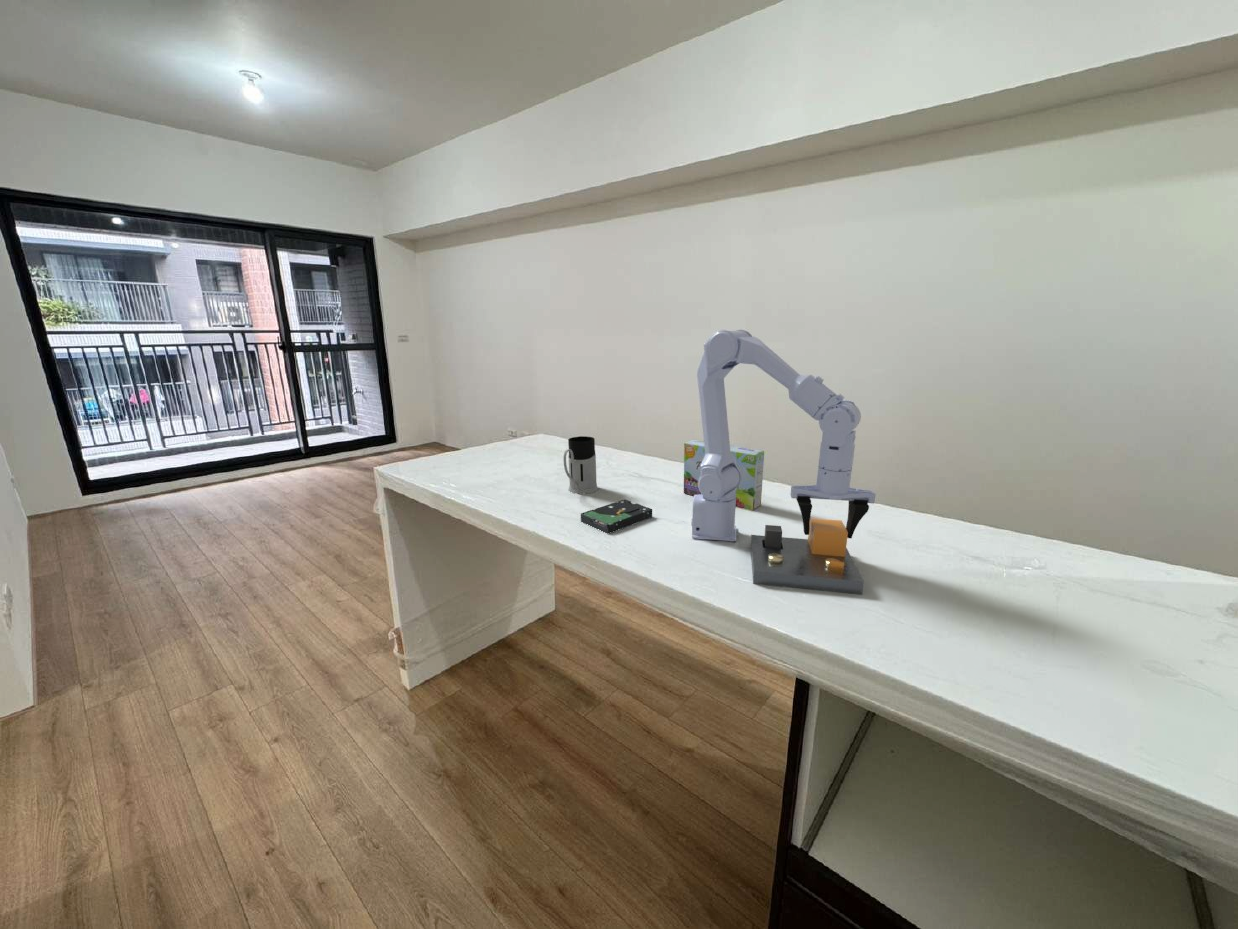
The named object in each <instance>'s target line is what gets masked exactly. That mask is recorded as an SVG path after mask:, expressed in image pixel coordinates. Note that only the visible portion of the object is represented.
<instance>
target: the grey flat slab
mask: <svg viewBox="0 0 1238 929" xmlns="http://www.w3.org/2000/svg"><path fill="white" fill-rule="evenodd" d="M764 537H765V535H759V534H757V535H756V534H751V535H750V556H751V571H752V572H751V573H752V584H756V585H763V586H774V587H783V586H785V587H784V588H795V589H803V590H804V589H805V590H813V591H814V590H815V591H822V592H824V591H826V592H831V593H832V592H834V593H842V594H843V593H845V594H855V595H863V590H864V589H863V588H864V582H865V581H864V579H863V577H862V575H861V574H860V571H859V569H858V567H857V566H856V563H855V561H854V560H853V558H852V555H851V554H850V551H849V550H848V548H847V547H846V553H845V557H842V556H831V555H819V554H812V552H811V549H810V546H809V543H808V538H797V537H783V536H782V542H781V549H772V548H765V546H764Z"/></svg>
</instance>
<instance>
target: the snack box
mask: <svg viewBox="0 0 1238 929" xmlns="http://www.w3.org/2000/svg"><path fill="white" fill-rule="evenodd" d="M683 447H684V449H683V451H684V452H683V457H684V458H683V494H684V493H685V494H684V495H689V496H693V497H694V495H699V494H701V493H700V491H699V488H698V480H699V477H700V466H701V463H702V461H703V459H704V457H705V447H704V440H700V439H699V440H698V439H692V440H689V441H685V442H684V446H683ZM730 451H731V453H732V454H733V455H734V456H735V458H736V464H737V467H738V468H739V470H740V472H741V477H742V478H741V482H740V484H739V486H738V487H736V491H735V492H736V508H740V509H743V508H744V509H745V510H747V511H751V512H753V511H754V510H755V509H757V508H758V507H761V505H762V492H763V476H764V462H765V451H764V450H762V449H761V450H760V449H755V448H750V447H749V448H748V447H743V446H736V445H731V444H730ZM744 509H743V510H744Z"/></svg>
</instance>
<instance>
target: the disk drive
mask: <svg viewBox="0 0 1238 929" xmlns="http://www.w3.org/2000/svg"><path fill="white" fill-rule="evenodd" d="M651 518H653V509H652V508H651V507H646V506H645V505H642V504H640V503H632V501H631V500H628V499H625V498H624V499H621V500H618V501H615V502H612V503H609V504H606V505H603V506H600V507H599V506H598V507H596V508H594V509H590V510H587V511H584V512H581V513H580V522H581V523H582V522H583V524H585V525H587V524H588V526H589V525H590V527H591V526H592V527H591V528H593V527H594V528H593V529H595V528H596V530H598V529H599V530H598V531H600V530H601V531H600V532H602V531H603V532H602V533H604V532H605V533H604V534H606V533H607V534H606V535H608V533H609V534H611V533H614V532H617V531H619V530H618V529H620V530H622V529H624V528H627V526H628V527H630V526H633V525H635V524H639V523H640V522H643V521H646V519H647V520H649V519H651ZM632 524H633V525H632ZM616 530H617V531H616ZM613 531H614V532H613ZM610 532H611V533H610Z"/></svg>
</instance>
